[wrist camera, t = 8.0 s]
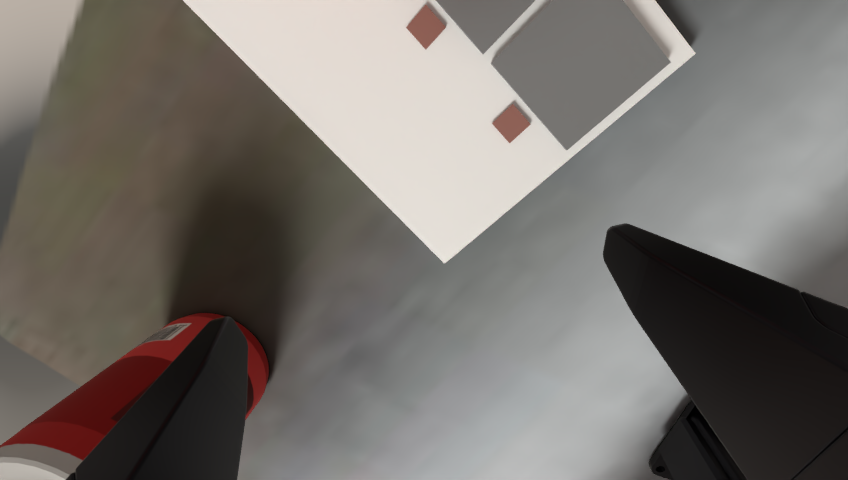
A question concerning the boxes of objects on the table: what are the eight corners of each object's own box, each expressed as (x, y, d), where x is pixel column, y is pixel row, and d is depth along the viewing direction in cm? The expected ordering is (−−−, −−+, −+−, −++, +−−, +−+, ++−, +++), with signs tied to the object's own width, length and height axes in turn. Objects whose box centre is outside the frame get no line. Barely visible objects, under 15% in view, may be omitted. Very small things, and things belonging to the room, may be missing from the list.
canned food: (151, 371, 27) (-47, 537, 17) (182, 286, 24) (-33, 423, 14) (249, 424, 28) (113, 616, 18) (290, 346, 25) (157, 521, 15)
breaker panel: (686, 55, 17) (702, 52, 15) (445, 257, 21) (443, 267, 20) (382, -342, 14) (372, -384, 13) (183, -9, 18) (162, -16, 17)
